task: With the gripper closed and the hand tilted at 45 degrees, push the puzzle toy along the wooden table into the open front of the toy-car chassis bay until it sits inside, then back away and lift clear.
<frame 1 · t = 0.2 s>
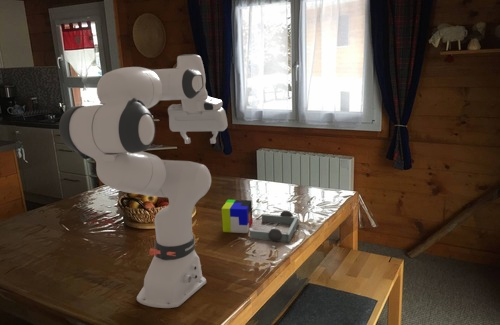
hand: (200, 143, 146), 39 cm above the table, tool pointing down, fingers open, 8 cm apart
chassis bay: (273, 230, 168), on the table
puzzle toy: (238, 227, 173), on the table
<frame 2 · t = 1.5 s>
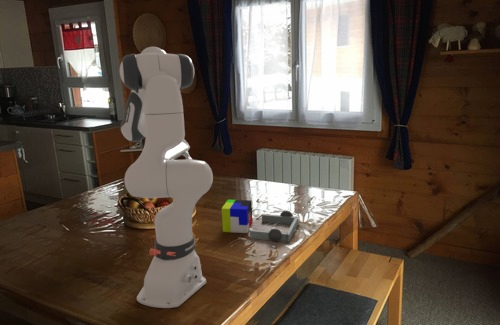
hand: (185, 164, 173), 25 cm above the table, tool tilted 45°, fingers open, 8 cm apart
nothing on the table moved.
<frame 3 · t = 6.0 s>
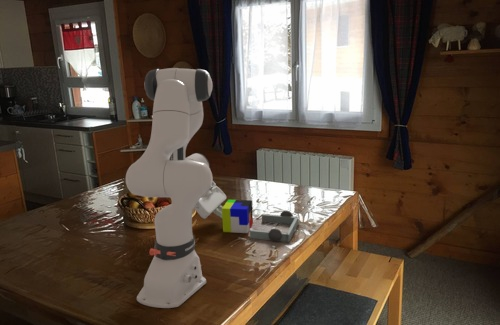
hand: (224, 216, 173), 4 cm above the table, tool tilted 45°, fingers closed
puzzle toy: (238, 227, 173), on the table, touching gripper
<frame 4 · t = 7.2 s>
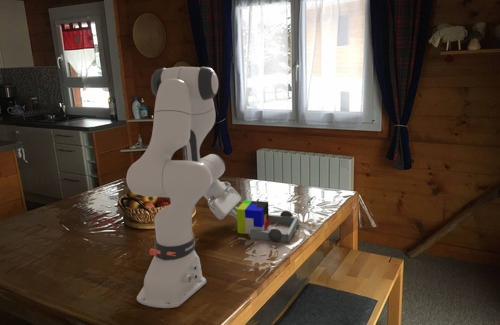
hand: (240, 217, 171), 4 cm above the table, tool tilted 45°, fingers closed, pressing on puzzle toy
puzzle toy: (253, 229, 171), on the table, touching gripper
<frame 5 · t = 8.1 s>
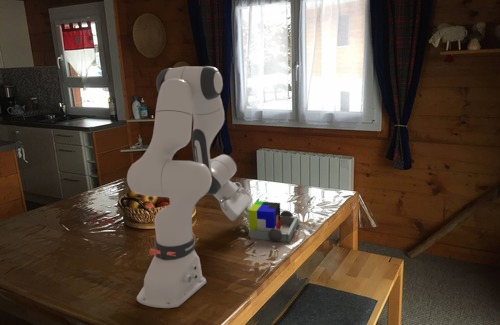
hand: (251, 218, 170), 4 cm above the table, tool tilted 45°, fingers closed, pressing on puzzle toy
puzzle toy: (265, 230, 169), on the table, touching gripper
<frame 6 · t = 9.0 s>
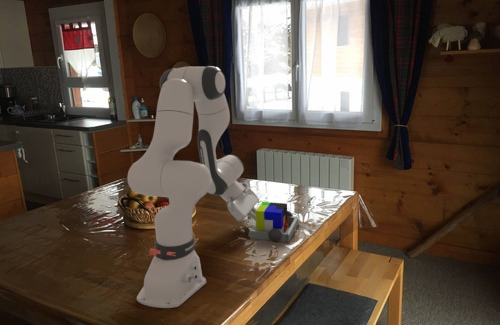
hand: (258, 218, 169), 4 cm above the table, tool tilted 45°, fingers closed, pressing on puzzle toy
puzzle toy: (272, 231, 168), on the table, touching gripper
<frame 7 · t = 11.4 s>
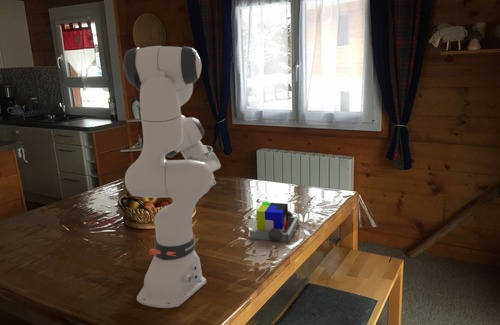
hand: (213, 185, 166), 19 cm above the table, tool tilted 30°, fingers closed
puzzle toy: (272, 231, 168), on the table
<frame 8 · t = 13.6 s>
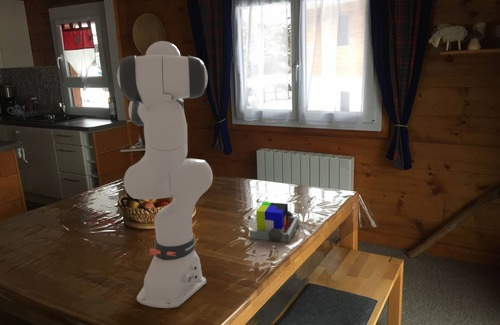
hand: (172, 164, 159), 29 cm above the table, tool pointing down, fingers closed
nothing on the table moved.
at the end: puzzle toy 0.9 cm off-centre on the chassis bay, point 0.0 cm above the chassis bay's base; puzzle toy tilted 0° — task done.
